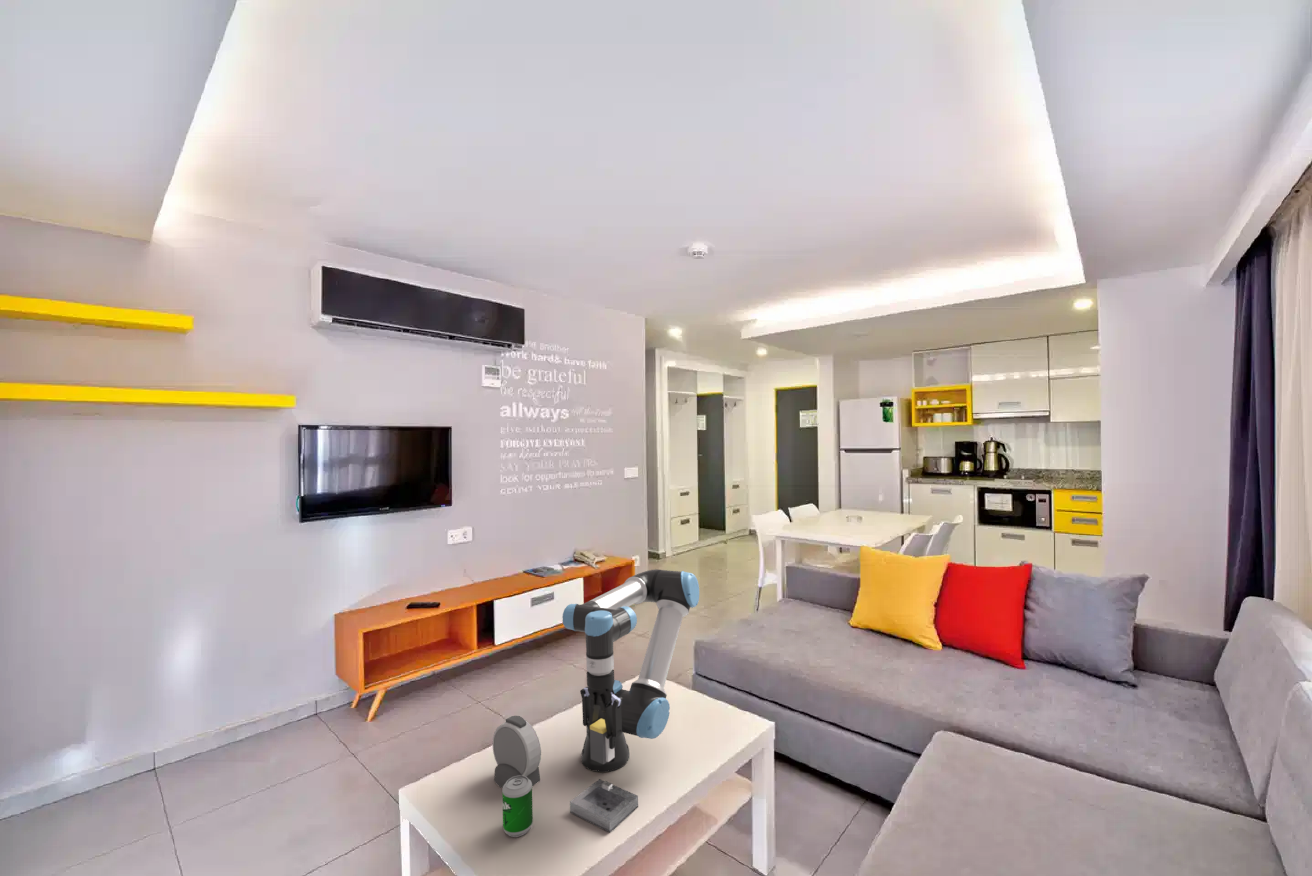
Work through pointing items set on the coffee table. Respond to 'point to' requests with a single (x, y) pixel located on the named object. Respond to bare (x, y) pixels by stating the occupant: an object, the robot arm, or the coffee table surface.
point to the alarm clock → (516, 751)
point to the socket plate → (604, 805)
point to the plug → (598, 741)
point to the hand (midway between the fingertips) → (602, 756)
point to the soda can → (517, 806)
